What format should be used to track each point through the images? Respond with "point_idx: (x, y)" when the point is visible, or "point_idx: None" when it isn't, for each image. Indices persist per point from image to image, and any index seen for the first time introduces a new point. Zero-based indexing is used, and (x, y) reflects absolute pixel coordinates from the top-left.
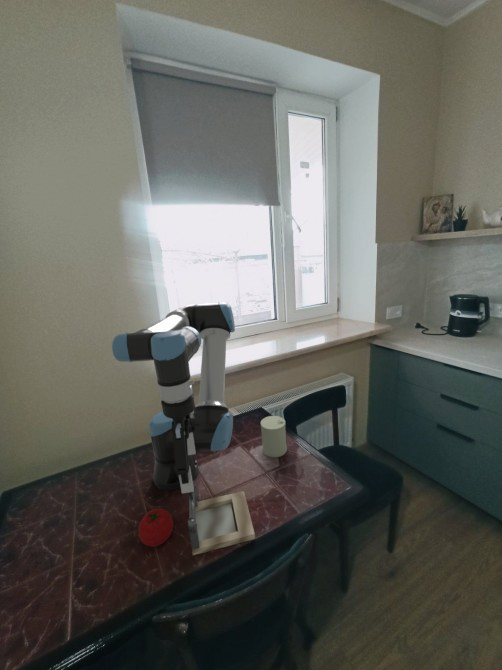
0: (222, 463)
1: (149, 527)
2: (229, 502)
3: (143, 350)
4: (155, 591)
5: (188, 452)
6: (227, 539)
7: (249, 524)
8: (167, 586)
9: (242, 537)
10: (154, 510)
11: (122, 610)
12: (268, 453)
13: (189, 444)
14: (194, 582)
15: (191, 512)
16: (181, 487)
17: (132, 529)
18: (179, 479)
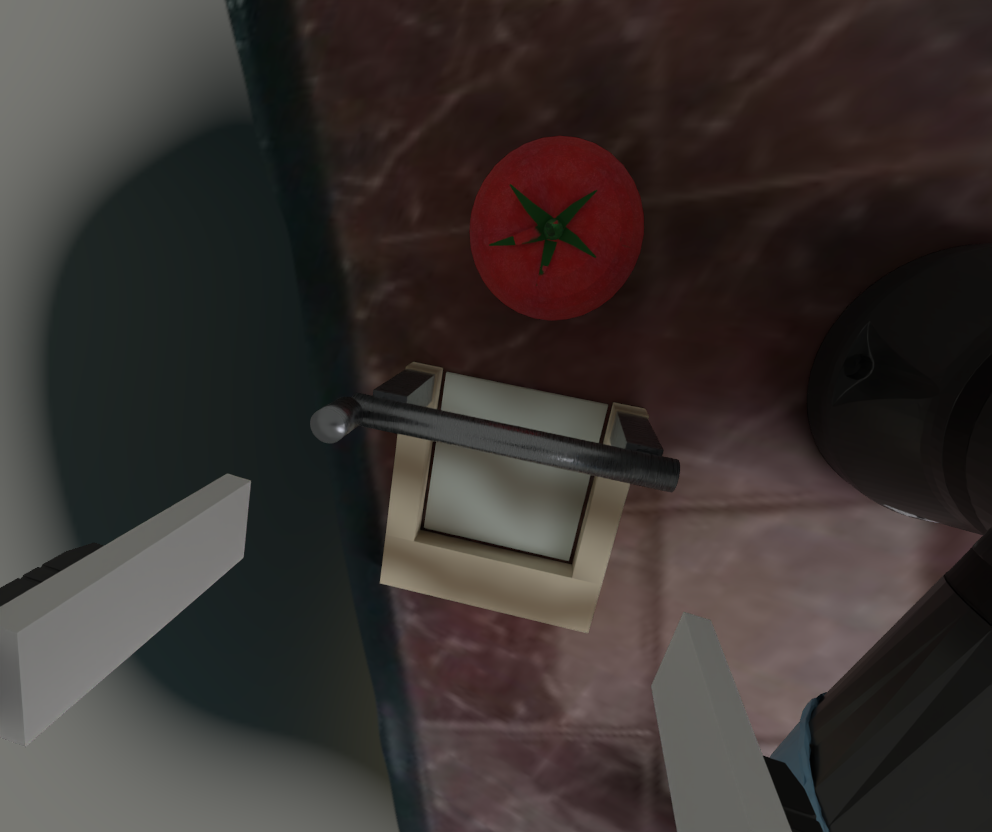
0: (851, 618)
1: (498, 198)
2: (574, 558)
3: None
4: (333, 207)
5: (678, 659)
6: (397, 496)
7: (423, 584)
8: (335, 253)
9: (385, 543)
10: (599, 235)
11: (308, 78)
12: None
13: (689, 763)
14: (317, 345)
15: (440, 430)
16: (184, 504)
17: (674, 107)
18: (109, 544)
